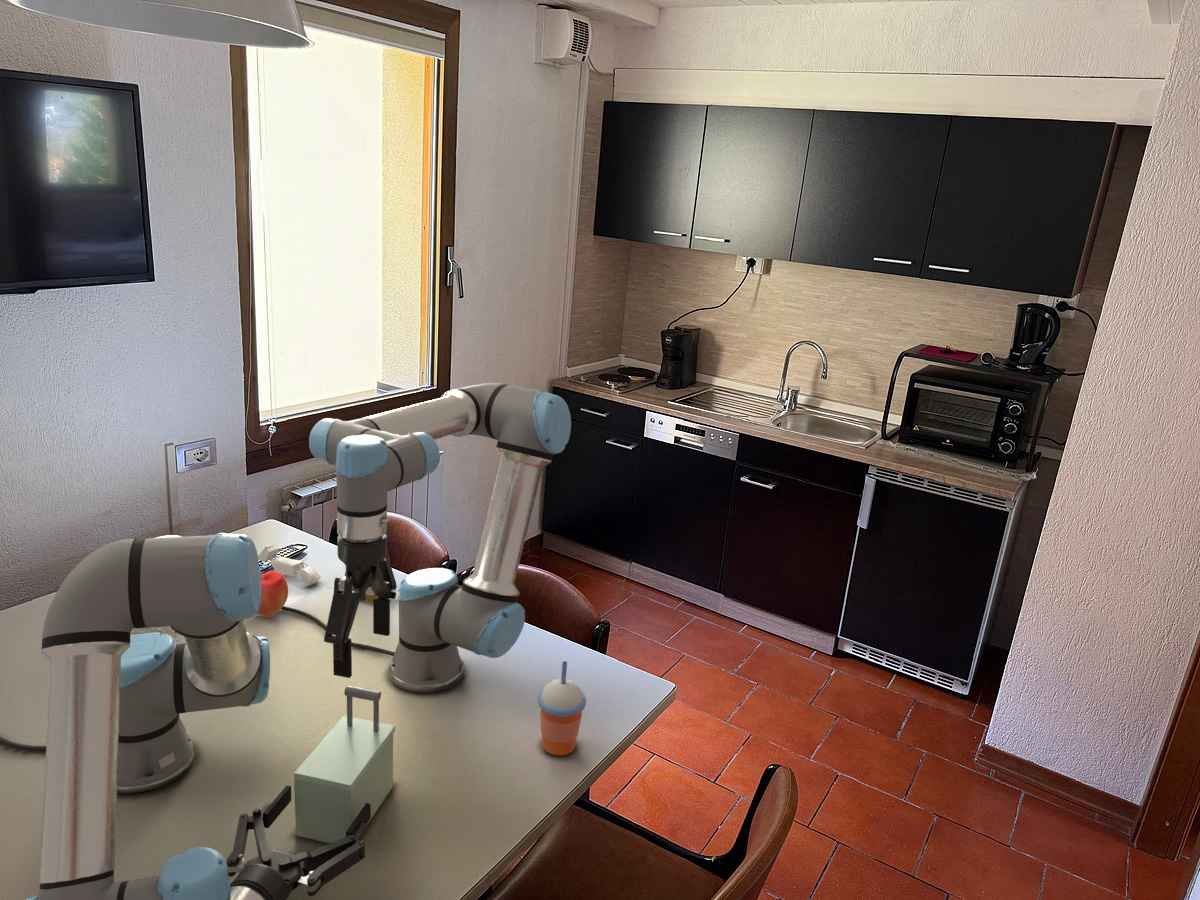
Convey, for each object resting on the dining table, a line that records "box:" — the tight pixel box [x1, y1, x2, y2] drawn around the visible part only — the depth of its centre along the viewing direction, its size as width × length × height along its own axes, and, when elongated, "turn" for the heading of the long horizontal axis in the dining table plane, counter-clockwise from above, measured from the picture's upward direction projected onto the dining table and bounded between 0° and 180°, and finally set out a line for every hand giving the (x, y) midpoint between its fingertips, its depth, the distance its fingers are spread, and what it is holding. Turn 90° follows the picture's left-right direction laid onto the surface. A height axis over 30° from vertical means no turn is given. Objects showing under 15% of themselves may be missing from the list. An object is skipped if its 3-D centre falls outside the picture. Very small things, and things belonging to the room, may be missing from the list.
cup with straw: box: [537, 660, 587, 756], centre depth 160 cm, size 9×9×18 cm
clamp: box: [258, 544, 322, 587], centre depth 219 cm, size 20×4×7 cm, turn 62°
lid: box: [293, 685, 396, 791], centre depth 138 cm, size 16×10×9 cm, turn 168°
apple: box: [256, 570, 289, 618], centre depth 199 cm, size 10×10×10 cm
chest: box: [293, 734, 394, 844], centre depth 141 cm, size 15×10×11 cm, turn 168°
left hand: (328, 801), depth 135 cm, fingers open, 13 cm apart
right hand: (363, 653), depth 140 cm, fingers open, 13 cm apart
